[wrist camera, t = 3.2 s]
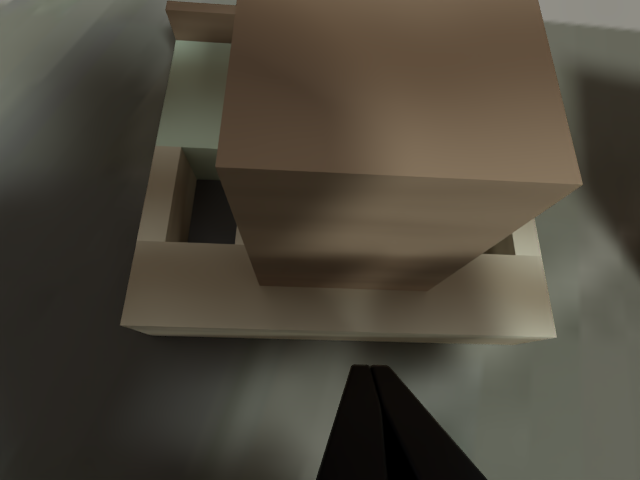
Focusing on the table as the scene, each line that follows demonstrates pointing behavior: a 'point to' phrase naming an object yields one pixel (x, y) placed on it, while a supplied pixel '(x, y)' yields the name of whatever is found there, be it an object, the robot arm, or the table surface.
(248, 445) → the table surface
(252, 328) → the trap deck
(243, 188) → the walnut block
